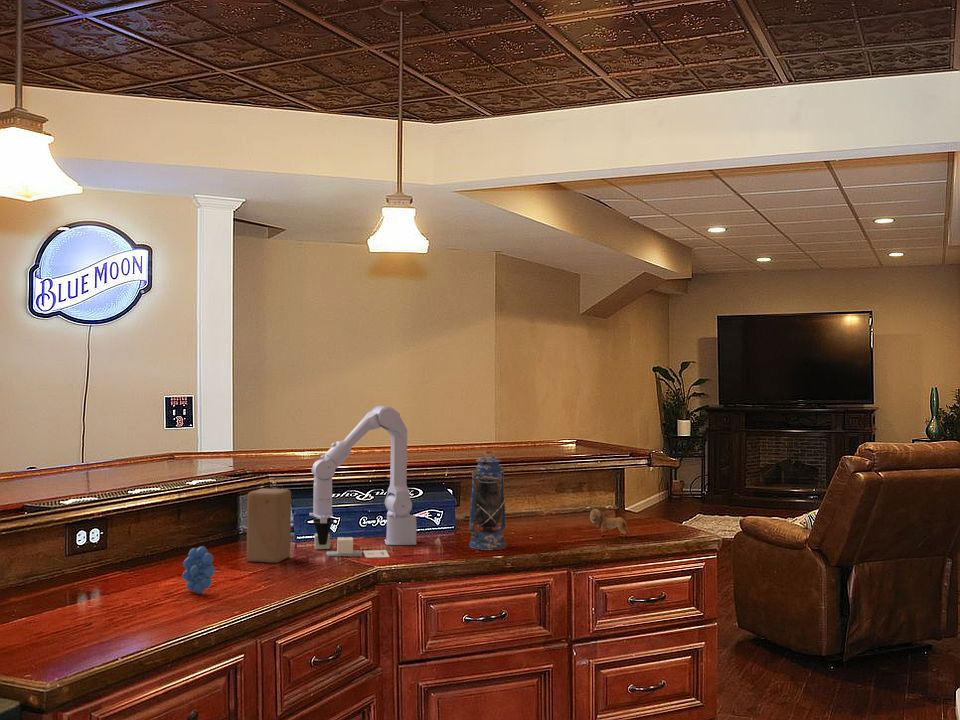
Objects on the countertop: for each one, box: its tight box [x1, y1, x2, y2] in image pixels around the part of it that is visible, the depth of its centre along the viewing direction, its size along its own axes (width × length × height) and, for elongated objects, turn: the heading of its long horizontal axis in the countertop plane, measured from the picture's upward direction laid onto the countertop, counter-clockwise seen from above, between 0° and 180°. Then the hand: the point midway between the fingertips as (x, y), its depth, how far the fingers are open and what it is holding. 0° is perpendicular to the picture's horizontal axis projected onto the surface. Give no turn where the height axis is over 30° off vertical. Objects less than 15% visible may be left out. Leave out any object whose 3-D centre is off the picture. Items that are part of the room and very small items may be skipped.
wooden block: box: [246, 488, 292, 564], centre depth 289 cm, size 10×10×20 cm
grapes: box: [182, 545, 216, 595], centre depth 248 cm, size 12×7×12 cm, turn 52°
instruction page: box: [362, 549, 391, 559], centre depth 299 cm, size 7×10×1 cm
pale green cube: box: [314, 532, 331, 550], centre depth 307 cm, size 4×4×4 cm
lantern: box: [468, 451, 507, 550], centre depth 312 cm, size 15×12×30 cm
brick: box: [336, 536, 354, 554], centre depth 298 cm, size 4×4×4 cm
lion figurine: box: [589, 508, 631, 535], centre depth 333 cm, size 15×5×9 cm, turn 71°
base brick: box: [326, 549, 363, 558], centre depth 297 cm, size 10×5×2 cm, turn 104°
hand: (322, 543), depth 307 cm, fingers closed on pale green cube, 4 cm apart
